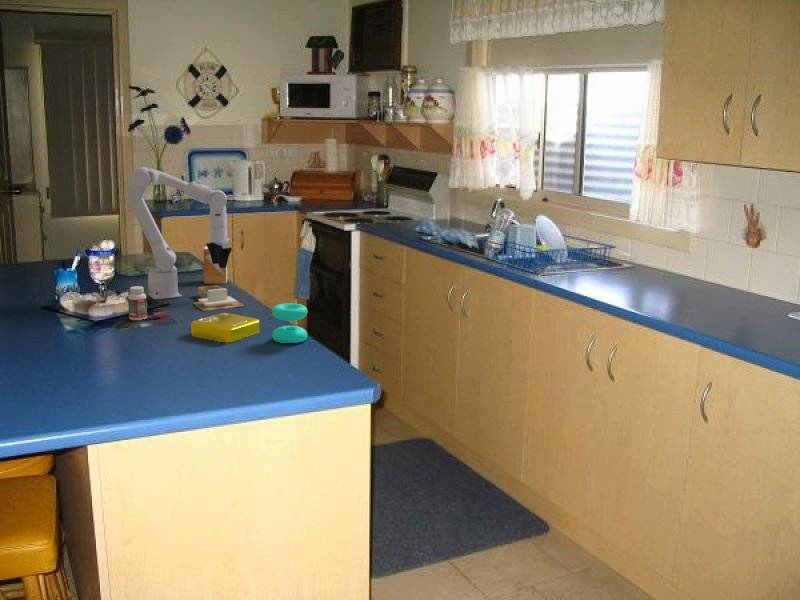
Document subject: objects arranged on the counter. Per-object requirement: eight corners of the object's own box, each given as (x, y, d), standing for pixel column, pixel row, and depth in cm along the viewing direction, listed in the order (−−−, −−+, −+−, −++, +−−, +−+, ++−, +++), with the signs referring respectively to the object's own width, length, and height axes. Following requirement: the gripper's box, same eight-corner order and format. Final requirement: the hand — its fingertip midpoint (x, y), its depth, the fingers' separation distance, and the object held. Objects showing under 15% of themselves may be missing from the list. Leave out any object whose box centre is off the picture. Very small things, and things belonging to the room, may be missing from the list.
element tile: (227, 345, 236) (227, 329, 235) (188, 336, 243) (187, 320, 242) (262, 333, 248) (262, 317, 247) (223, 325, 256) (223, 310, 255)
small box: (204, 284, 307) (203, 248, 304) (205, 280, 313) (204, 245, 310) (226, 284, 308) (225, 248, 305) (227, 280, 314) (227, 245, 311)
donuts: (296, 312, 232) (265, 308, 236) (296, 347, 235) (265, 342, 238) (313, 304, 241) (283, 300, 245) (313, 338, 244) (283, 333, 247)
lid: (237, 305, 277) (236, 290, 276) (205, 308, 271) (205, 293, 270) (229, 300, 283) (228, 285, 282) (198, 303, 278) (197, 288, 277)
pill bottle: (140, 321, 256) (139, 290, 253) (125, 319, 257) (123, 288, 255) (150, 317, 261) (149, 286, 258) (135, 315, 262) (134, 284, 260)
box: (207, 302, 281) (207, 293, 280) (198, 295, 289) (197, 287, 289) (227, 300, 285) (227, 291, 284) (217, 293, 293) (217, 285, 292)
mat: (203, 311, 269) (203, 310, 269) (192, 303, 279) (192, 302, 278) (244, 306, 276) (244, 305, 276) (233, 299, 286) (233, 298, 285)
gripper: (237, 228, 281) (237, 268, 284) (222, 222, 293) (223, 260, 297) (216, 230, 278) (217, 270, 281) (203, 223, 290) (204, 262, 293)
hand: (219, 265), depth 289 cm, fingers open, 7 cm apart
